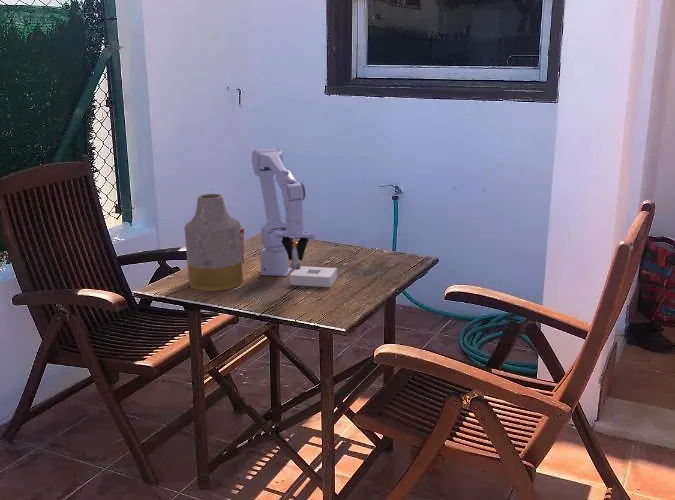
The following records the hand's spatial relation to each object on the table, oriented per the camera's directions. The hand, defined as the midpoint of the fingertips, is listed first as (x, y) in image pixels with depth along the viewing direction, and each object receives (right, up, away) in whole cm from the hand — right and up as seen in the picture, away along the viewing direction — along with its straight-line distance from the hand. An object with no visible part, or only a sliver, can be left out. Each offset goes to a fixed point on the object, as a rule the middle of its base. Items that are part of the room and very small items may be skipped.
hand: (296, 259), depth 242 cm
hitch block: (+6, -8, +9) cm, 13 cm away
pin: (0, -3, +1) cm, 3 cm away
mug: (-26, -1, +33) cm, 42 cm away
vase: (-28, -8, +9) cm, 31 cm away
